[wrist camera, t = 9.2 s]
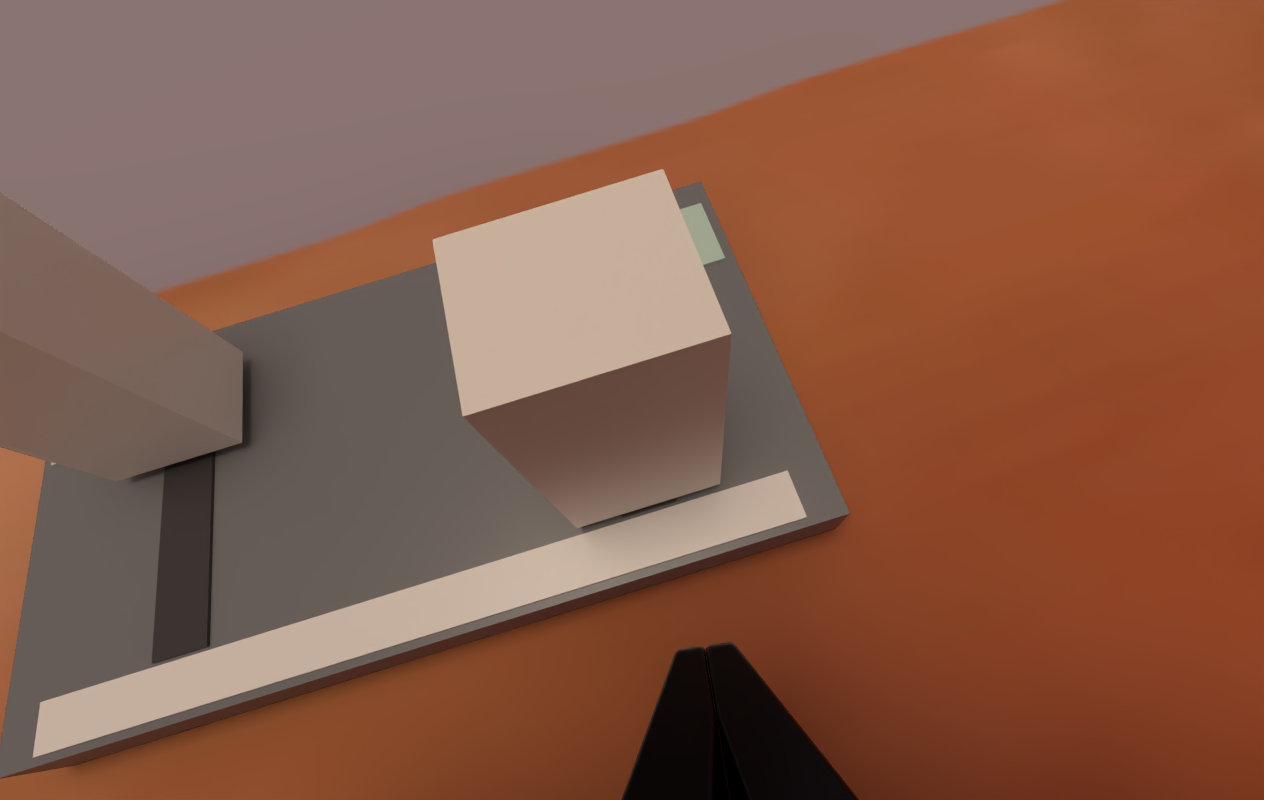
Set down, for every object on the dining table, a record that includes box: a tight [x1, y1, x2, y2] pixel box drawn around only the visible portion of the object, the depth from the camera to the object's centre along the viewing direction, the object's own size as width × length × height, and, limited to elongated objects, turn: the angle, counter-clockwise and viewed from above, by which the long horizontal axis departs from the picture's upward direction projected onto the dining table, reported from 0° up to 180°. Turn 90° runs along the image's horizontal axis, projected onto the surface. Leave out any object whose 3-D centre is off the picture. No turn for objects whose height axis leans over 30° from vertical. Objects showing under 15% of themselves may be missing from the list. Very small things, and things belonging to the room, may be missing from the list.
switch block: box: [0, 182, 850, 778], centre depth 17 cm, size 11×21×2 cm, turn 106°
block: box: [432, 169, 731, 528], centre depth 11 cm, size 3×4×7 cm
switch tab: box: [0, 193, 243, 481], centre depth 13 cm, size 3×4×7 cm
